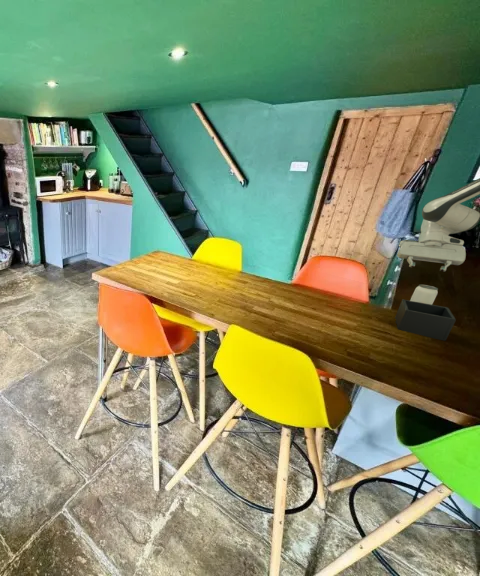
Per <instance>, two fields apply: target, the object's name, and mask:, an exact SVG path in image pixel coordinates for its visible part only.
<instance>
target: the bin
mask: <svg viewBox="0 0 480 576" xmlns="http://www.w3.org/2000/svg"><path fill="white" fill-rule="evenodd" d="M395 319H396V321H395V324H397V325H396V328H397V330H398V331H402V332H406V333H410V334H415V335H418V336H423V337H426V338H431V339H435V340H439V341H444V342H446V341H447V339H448V337H449V335H450V332H451V331H452V329H453V327H454V325H455V323H456V320H457V319H456V318H455V316H454V314H453V313H452V311H451V310H450V308H449V307H448V306H442V305H436V304H432V305H431V304H425V303H420V302H414V301H410V300H409V299H401V302H400V304H399V307H398V309H397V311H396V314H395V317H394V320H395Z"/></svg>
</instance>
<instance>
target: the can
mask: <svg viewBox="0 0 480 576" xmlns="http://www.w3.org/2000/svg"><path fill="white" fill-rule="evenodd" d="M438 290H439V288H438V287H435V286H432V285H428V284H418V286H416V287H415V289H414V291H413V293H412V295H411V296H410V300H409V301H414V302H420V303H425V304H431V305H434V302H435V300H436V298H437V296H438Z"/></svg>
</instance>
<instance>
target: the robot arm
mask: <svg viewBox="0 0 480 576" xmlns="http://www.w3.org/2000/svg"><path fill="white" fill-rule="evenodd" d="M477 196H480V177H479V178H477V179H475V180H473V181H471V182H469V183H467V184H465V185H463V186H461V187H459V188H457V189H454V190H453V191H451V192H449V193H447V194H444V195H442V196H439V197H436V198H434V199H432V200H430V201H428V202H427V203H426V204H424V206H423V207H422V209H421V215H422V216H421V217H422V222H421V225H420V234H419V236H418V239H417V240H415V239H413V240H410V239H404V240H400V241H399V243H398V247H399V249H398V251H397V255H396V256H397V258H399V259H405V260H406V261H407V263H408V264H409V265H408V267H409V268H415V266H416V262H414V261H419V262H420V261H423V262H427V263H429V262H430V263H438V264H444V265H441V266H440V268H439V272H446V271H447V268H449V267H450V266H451V265H454V266H460V265H462V264H464V262H465V260H466V256H467V253H466V248H465V247H464V244H465V241H464V240H463V239H459V238H456V237H453V236H450V235H454V234H459V233H463V232H466V231H469V230H472V229H473V228H475V227H476V226H477V225H478V224H479V222H480V211H477V210H475V209H473V208H471V207H468V206H466V205H464V204H462V203H464V202H466V201H469V200H471V199H473V198H475V197H477Z"/></svg>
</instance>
